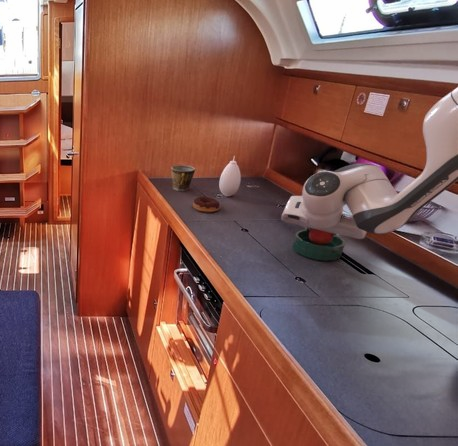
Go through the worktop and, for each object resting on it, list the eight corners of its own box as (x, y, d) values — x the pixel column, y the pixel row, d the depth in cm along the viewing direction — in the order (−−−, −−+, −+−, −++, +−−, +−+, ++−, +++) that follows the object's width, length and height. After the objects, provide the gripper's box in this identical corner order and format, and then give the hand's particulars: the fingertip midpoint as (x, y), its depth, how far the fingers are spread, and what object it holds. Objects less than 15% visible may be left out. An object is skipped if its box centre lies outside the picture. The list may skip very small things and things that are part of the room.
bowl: (335, 247, 125) (339, 232, 123) (345, 265, 115) (350, 250, 113) (289, 241, 130) (293, 227, 128) (295, 258, 120) (299, 243, 118)
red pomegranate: (311, 249, 120) (317, 225, 117) (303, 241, 125) (309, 218, 122) (333, 250, 118) (340, 226, 115) (324, 242, 124) (330, 218, 120)
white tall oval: (240, 199, 167) (248, 157, 160) (220, 198, 168) (227, 157, 161) (234, 192, 174) (241, 152, 167) (215, 192, 175) (221, 152, 168)
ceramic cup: (168, 185, 188) (171, 164, 184) (191, 186, 185) (194, 165, 181) (169, 194, 177) (172, 172, 172) (193, 195, 173) (196, 173, 169)
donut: (215, 215, 152) (217, 205, 151) (189, 210, 158) (190, 201, 156) (221, 207, 160) (223, 198, 158) (196, 202, 165) (197, 194, 164)
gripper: (374, 211, 104) (370, 232, 114) (285, 194, 118) (288, 215, 128) (366, 231, 103) (362, 251, 113) (277, 212, 117) (280, 231, 127)
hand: (322, 232), depth 120 cm, fingers closed on red pomegranate, 6 cm apart
